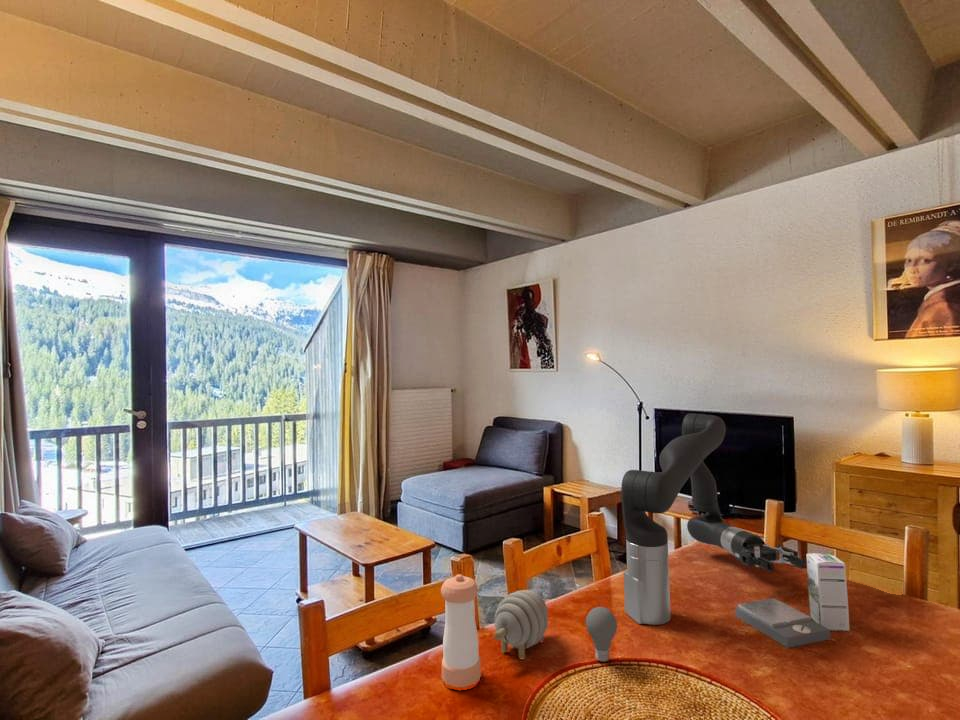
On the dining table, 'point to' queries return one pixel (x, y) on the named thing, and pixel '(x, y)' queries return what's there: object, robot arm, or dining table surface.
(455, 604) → the salt shaker
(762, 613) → the scale pan
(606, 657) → the light bulb
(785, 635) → the scale base
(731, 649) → the dining table surface
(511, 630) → the toy sheep
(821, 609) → the syrup box
